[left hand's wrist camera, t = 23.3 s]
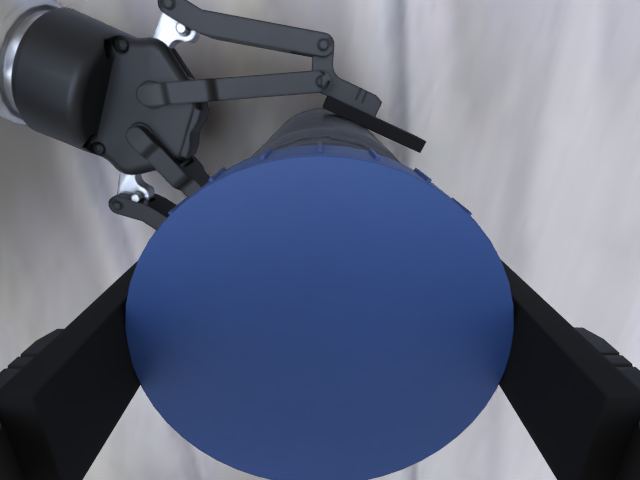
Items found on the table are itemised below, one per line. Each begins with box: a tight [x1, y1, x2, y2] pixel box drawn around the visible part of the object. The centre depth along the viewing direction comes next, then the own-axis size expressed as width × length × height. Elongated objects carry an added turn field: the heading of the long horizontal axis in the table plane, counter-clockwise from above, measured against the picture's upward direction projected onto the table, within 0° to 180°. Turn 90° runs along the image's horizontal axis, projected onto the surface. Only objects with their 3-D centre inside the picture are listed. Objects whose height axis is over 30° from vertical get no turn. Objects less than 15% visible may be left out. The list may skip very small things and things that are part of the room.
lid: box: [125, 142, 514, 480], centre depth 11 cm, size 10×10×2 cm
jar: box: [251, 109, 400, 163], centre depth 24 cm, size 9×9×16 cm
